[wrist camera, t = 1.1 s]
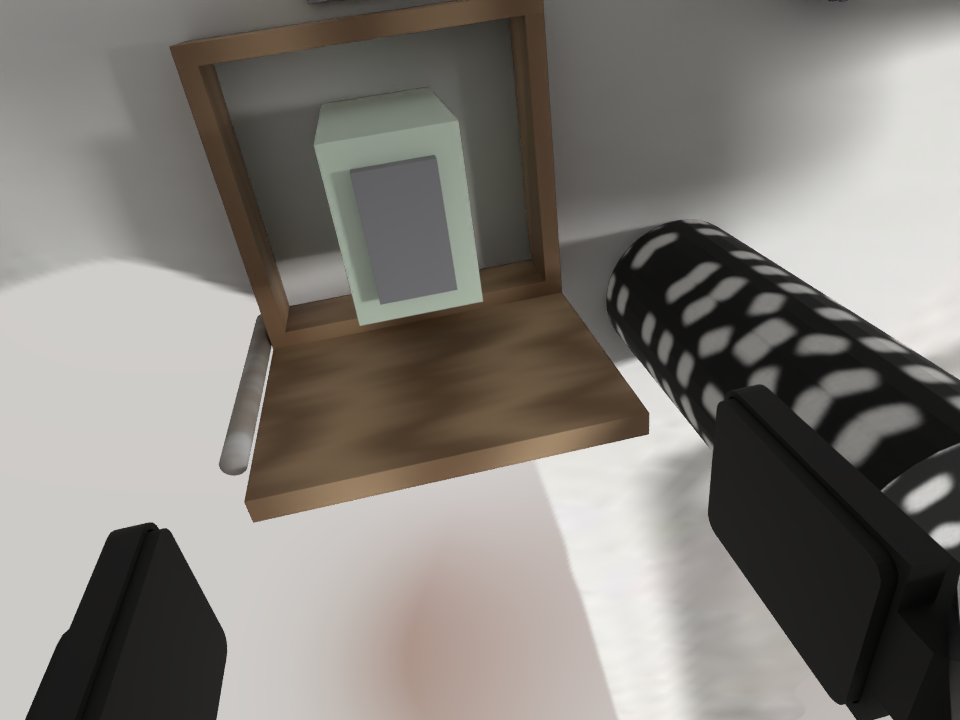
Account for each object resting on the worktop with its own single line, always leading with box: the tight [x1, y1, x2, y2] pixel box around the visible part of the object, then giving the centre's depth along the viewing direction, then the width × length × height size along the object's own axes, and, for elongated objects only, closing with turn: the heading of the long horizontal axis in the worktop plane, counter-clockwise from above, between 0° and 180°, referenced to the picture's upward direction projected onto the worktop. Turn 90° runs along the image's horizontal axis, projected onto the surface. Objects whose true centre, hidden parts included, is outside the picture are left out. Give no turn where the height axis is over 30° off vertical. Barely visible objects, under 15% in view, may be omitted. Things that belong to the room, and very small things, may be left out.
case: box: [170, 0, 649, 522], centre depth 25 cm, size 16×15×14 cm
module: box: [314, 87, 483, 326], centre depth 27 cm, size 5×7×10 cm
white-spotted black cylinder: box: [607, 220, 960, 563], centre depth 29 cm, size 8×8×20 cm
